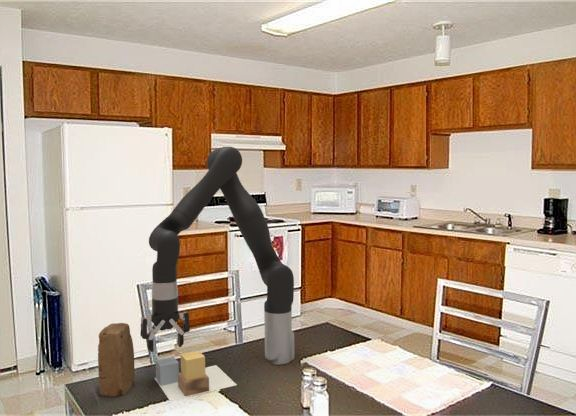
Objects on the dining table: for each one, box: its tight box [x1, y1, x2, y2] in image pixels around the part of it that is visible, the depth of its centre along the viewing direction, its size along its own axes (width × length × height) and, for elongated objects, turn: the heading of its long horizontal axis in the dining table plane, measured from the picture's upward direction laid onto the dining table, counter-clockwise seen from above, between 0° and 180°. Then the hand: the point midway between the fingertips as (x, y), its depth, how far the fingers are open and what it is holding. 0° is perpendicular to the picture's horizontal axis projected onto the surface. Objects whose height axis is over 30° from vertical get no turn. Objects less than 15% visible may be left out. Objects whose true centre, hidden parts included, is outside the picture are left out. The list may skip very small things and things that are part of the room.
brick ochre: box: [180, 350, 206, 381], centre depth 144 cm, size 6×6×6 cm
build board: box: [154, 364, 238, 402], centre depth 149 cm, size 20×17×1 cm
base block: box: [178, 372, 209, 397], centre depth 144 cm, size 7×7×4 cm
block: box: [97, 322, 135, 397], centre depth 144 cm, size 11×8×20 cm
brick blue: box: [155, 356, 180, 386], centre depth 150 cm, size 6×6×6 cm
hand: (165, 348), depth 149 cm, fingers open, 8 cm apart
